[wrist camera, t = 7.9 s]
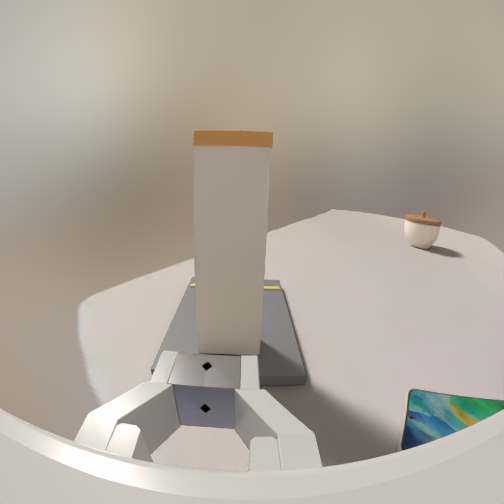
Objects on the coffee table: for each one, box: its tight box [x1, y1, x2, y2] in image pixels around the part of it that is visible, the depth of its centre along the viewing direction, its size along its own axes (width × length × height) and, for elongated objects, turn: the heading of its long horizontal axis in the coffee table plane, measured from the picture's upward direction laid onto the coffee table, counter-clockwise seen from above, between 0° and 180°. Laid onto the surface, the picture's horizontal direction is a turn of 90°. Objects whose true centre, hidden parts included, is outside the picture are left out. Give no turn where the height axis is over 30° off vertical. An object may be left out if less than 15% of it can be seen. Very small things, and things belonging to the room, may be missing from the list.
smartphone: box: [397, 389, 504, 452], centre depth 12 cm, size 7×1×15 cm
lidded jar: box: [404, 212, 441, 249], centre depth 67 cm, size 11×11×9 cm
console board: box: [151, 277, 306, 386], centre depth 30 cm, size 20×12×1 cm, turn 1°
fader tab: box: [194, 131, 273, 355], centre depth 21 cm, size 3×5×17 cm, turn 91°
